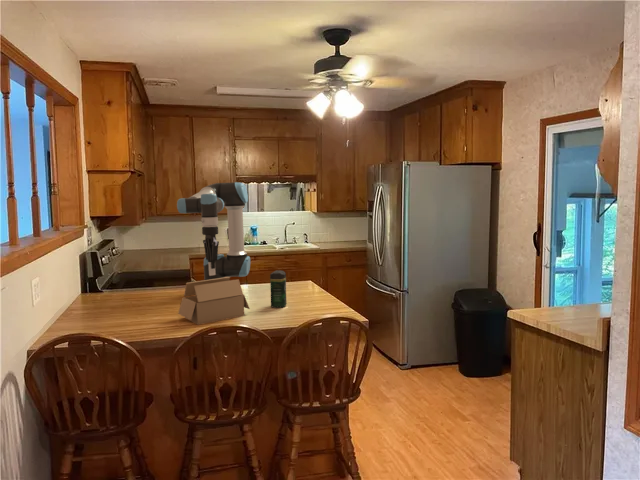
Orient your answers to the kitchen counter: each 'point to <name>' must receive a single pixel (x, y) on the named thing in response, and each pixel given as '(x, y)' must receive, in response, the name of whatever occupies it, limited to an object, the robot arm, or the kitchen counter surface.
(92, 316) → the kitchen counter surface
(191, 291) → the flap
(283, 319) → the kitchen counter surface
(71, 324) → the kitchen counter surface
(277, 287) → the coffee jar
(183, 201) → the robot arm
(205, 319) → the carton
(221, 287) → the flap
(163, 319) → the kitchen counter surface
